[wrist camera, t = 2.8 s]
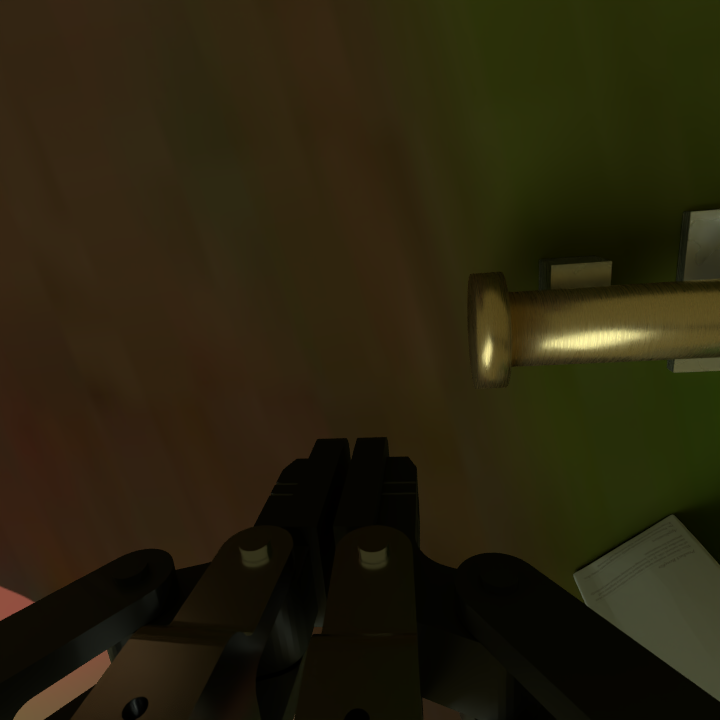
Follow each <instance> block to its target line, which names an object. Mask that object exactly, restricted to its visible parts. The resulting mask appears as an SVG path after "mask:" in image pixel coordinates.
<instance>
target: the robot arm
mask: <svg viewBox="0 0 720 720" xmlns="http://www.w3.org/2000/svg"><path fill="white" fill-rule="evenodd" d="M276 483H277V484H276V485H275V486H274V488H273V490H272V492H271V496H269V498H268V500H267V502H266V504H265V505H264V507H263V509H262V511H261V513H260V515H259V517H258V519H257V521H256V523H255V525H254V527H251V528H248V529H245V530H242V531H240V532H238V533H236V534H235V535H233V536H232V537H230V538H229V539H228V540H227V541H226V542H225V543H224V544H223V545H222V547H221V548H220V550H219V551H218V553H217V554H216V556H215V557H214V559H213V560H212V562H209V563H205V564H201V565H196V566H192V567H187V568H183V569H178V570H175V566H174V562H173V559H172V556H171V555H170V554H169V553H167V552H166V551H163V550H160V549H144V550H138V551H135V552H131V553H129V554H126V555H124V556H122V557H119V558H117V559H116V560H114V561H112V562H110V563H108V564H106V565H104V566H102V567H101V568H99V569H97V570H95V571H93V572H91V573H89V574H87V575H86V576H84V577H82V578H80V579H78V580H76V581H74V582H72V583H71V584H69V585H67V586H65V587H63V588H61V589H59V590H57V591H56V592H54V593H52V594H50V595H48V596H46V597H44V598H42V599H41V600H39V601H37V602H35V603H33V604H31V605H29V606H28V607H26V608H24V609H22V610H20V611H18V612H16V613H14V614H12V615H11V616H9V617H7V618H5V619H3V620H2V621H0V720H13V718H14V717H15V715H16V713H17V712H18V710H19V709H20V708H21V707H22V706H23V705H24V704H25V703H26V702H27V701H29V700H30V699H31V698H33V697H34V696H36V695H37V694H39V693H40V692H42V691H43V690H45V689H47V688H48V687H50V686H51V685H53V684H54V683H56V682H57V681H59V680H60V679H62V678H64V677H65V676H67V675H68V674H70V673H71V672H73V671H74V670H76V669H77V668H79V667H80V666H82V665H84V664H85V663H87V662H88V661H90V660H91V659H93V658H94V657H96V656H98V655H99V654H101V653H102V652H104V651H105V650H107V651H108V654H109V658H110V661H111V665H110V666H109V668H108V669H107V670H106V671H105V673H104V674H103V675H102V677H101V678H100V680H99V681H98V682H97V684H96V685H94V686H93V687H91V688H90V689H88V690H87V691H85V692H84V693H82V694H81V695H80V696H78V697H77V698H75V699H74V700H72V701H71V702H69V703H68V704H66V705H65V706H63V707H62V708H60V709H59V710H58V711H56V712H55V713H53V714H52V715H50V716H49V717H47V718H46V719H44V720H293V719H294V720H424V718H423V701H422V697H423V698H425V699H428V700H431V701H433V702H436V703H438V704H441V705H443V706H446V707H448V708H451V709H453V710H456V711H458V712H460V716H461V720H720V701H718V700H717V699H716V698H714V697H713V696H711V695H710V694H709V693H707V692H706V691H705V690H703V689H702V688H700V687H699V686H698V685H696V684H695V683H693V682H692V681H691V680H689V679H688V678H686V677H685V676H684V675H682V674H681V673H680V672H678V671H677V670H675V669H674V668H673V667H671V666H670V665H668V664H667V663H666V662H664V661H663V660H661V659H660V658H659V657H657V656H656V655H655V654H653V653H652V652H650V651H649V650H648V649H646V648H645V647H643V646H642V645H641V644H639V643H638V642H637V641H635V640H634V639H632V638H631V637H630V636H628V635H627V634H625V633H624V632H623V631H621V630H620V629H618V628H617V627H616V626H614V625H613V624H612V623H610V622H609V621H607V620H606V619H605V618H603V617H602V616H600V615H599V614H598V613H596V612H595V611H594V610H592V609H591V608H589V607H588V606H587V605H585V604H584V603H582V602H581V601H580V600H578V599H577V598H575V597H574V596H573V595H571V594H570V593H569V592H567V591H566V590H564V589H563V588H562V587H560V586H559V585H557V584H556V583H555V582H553V581H552V580H550V579H549V578H548V577H546V576H545V575H544V574H542V573H541V572H539V571H538V570H537V569H535V568H534V567H532V566H531V565H530V564H528V563H526V562H525V561H523V560H521V559H519V558H517V557H514V556H511V555H507V554H502V553H484V554H479V555H475V556H472V557H470V558H468V559H467V560H465V561H464V562H463V563H462V564H461V565H460V566H459V567H458V569H455V568H451V567H448V566H444V565H441V564H439V563H437V562H435V561H433V560H431V559H430V558H428V557H427V556H426V555H424V554H423V553H422V551H421V550H420V516H419V499H418V482H417V467H416V466H415V465H414V464H413V462H412V461H411V460H410V458H409V457H389V448H388V440H387V437H373V438H357V441H356V444H355V448H354V451H353V455H352V459H351V458H350V449H349V443H348V440H347V438H336V439H317V441H316V443H315V445H314V447H313V450H312V452H311V454H310V456H309V459H296V460H295V461H293V462H292V463H291V464H290V465H288V466H287V467H286V468H285V469H283V471H282V473H281V475H280V477H279V479H278V480H277V482H276ZM314 627H322V633H321V634H313V635H312V632H313V628H314ZM311 636H312V637H311ZM294 716H295V718H294Z"/></svg>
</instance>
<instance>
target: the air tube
mask: <svg viewBox="0 0 720 720" xmlns="http://www.w3.org/2000/svg"><path fill="white" fill-rule="evenodd" d="M467 314H468V341H469V355H470V365H471V373H472V380H473V384H474V387H475V389H483V388H506V387H507V386H508V383H509V379H510V374H511V367H514V366H536V365H559V364H582V363H605V362H627V361H650V360H673V359H696V358H718V357H720V279H706V280H690V281H675V282H659V283H644V284H629V285H613V286H598V287H583V288H567V289H552V290H536V291H521V292H508V288H507V284H506V280H505V277H504V274H503V273H502V272H489V273H475V274H470V276H469V281H468V299H467Z"/></svg>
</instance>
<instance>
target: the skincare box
mask: <svg viewBox="0 0 720 720" xmlns="http://www.w3.org/2000/svg"><path fill="white" fill-rule="evenodd" d="M573 576H574V579H575V581H576V583H577V586H578V588H579V590H580V592H581V595H582V597H583V599H584V601H585V604H586V605H587V606H588V607H589V608H591V609H592V610H594V611H595V612H596V613H598V614H599V615H600V616H602V617H603V618H605V619H606V620H607V621H609V622H610V623H612V624H613V625H614V626H616V627H617V628H618V629H620V630H621V631H623V632H624V633H625V634H627V635H628V636H630V637H631V638H632V639H634V640H635V641H637V642H638V643H639V644H641V645H642V646H643V647H645V648H646V649H648V650H649V651H650V652H652V653H653V654H655V655H656V656H657V657H659V658H660V659H661V660H663V661H664V662H666V663H667V664H668V665H670V666H671V667H673V668H674V669H675V670H677V671H678V672H680V673H681V674H682V675H684V676H685V677H686V678H688V679H689V680H691V681H692V682H693V683H695V684H696V685H698V686H699V687H700V688H702V689H703V690H705V691H706V692H707V693H709V694H710V695H711V696H713V697H714V698H716V699H717V700H718V701H720V565H719V564H718V563H717V561H716V560H715V559H714V558H713V557H712V556H711V555H710V554H709V552H708V551H707V550H706V549H705V548H704V547H703V546H702V545H701V544H700V542H699V541H698V540H697V539H696V538H695V537H694V536H693V535H692V534H691V532H690V531H689V530H688V529H687V528H686V527H685V526H684V525H683V524H682V523H681V522H680V521H679V519H678V518H677V517H676V516H675V515H670V516H668V517H667V518H665V519H663V520H662V521H660V522H658V523H657V524H655V525H654V526H652V527H650V528H649V529H647V530H646V531H644V532H642V533H641V534H639V535H637V536H636V537H634V538H632V539H631V540H629V541H627V542H626V543H624V544H622V545H621V546H619V547H617V548H616V549H614V550H612V551H611V552H609V553H607V554H606V555H604V556H603V557H601V558H599V559H598V560H596V561H594V562H593V563H591V564H590V565H588V566H586V567H584V568H583V569H581V570H579V571H577V572H576V573H574V575H573Z"/></svg>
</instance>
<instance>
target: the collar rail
mask: <svg viewBox="0 0 720 720" xmlns="http://www.w3.org/2000/svg"><path fill="white" fill-rule="evenodd" d="M611 271H612V261H610V260H607V259H604V258H600V257H597V256H581V257H567V258H554V259H540V260H539V290H552V289H567V288H583V287H598V286H611ZM706 279H720V209H711V210H699V211H687V212H683V220H682V230H681V239H680V249H679V258H678V267H677V277H676V281H690V280H706ZM667 368H668V369H669V370H671V371H672V372H698V371H720V357H718V358H696V359H673V360H668V362H667Z"/></svg>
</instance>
